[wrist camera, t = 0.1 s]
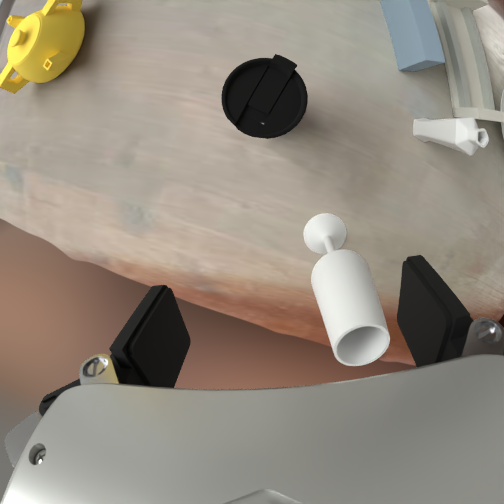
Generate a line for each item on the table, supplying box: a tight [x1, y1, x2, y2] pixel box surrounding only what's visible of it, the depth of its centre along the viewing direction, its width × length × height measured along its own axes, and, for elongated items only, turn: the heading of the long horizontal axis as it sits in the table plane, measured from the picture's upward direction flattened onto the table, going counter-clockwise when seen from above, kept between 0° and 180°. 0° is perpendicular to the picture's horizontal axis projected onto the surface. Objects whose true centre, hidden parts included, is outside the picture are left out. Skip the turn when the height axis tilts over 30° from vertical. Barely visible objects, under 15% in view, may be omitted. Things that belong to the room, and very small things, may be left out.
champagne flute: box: [304, 213, 390, 366], centre depth 31 cm, size 7×7×24 cm
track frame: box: [427, 0, 504, 123], centre depth 23 cm, size 22×9×7 cm, turn 10°
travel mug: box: [222, 54, 308, 139], centre depth 26 cm, size 6×7×20 cm
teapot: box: [0, 0, 85, 94], centre depth 26 cm, size 17×17×12 cm
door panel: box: [380, 0, 445, 71], centre depth 24 cm, size 12×3×9 cm, turn 10°
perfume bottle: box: [413, 117, 489, 156], centre depth 27 cm, size 5×4×15 cm
